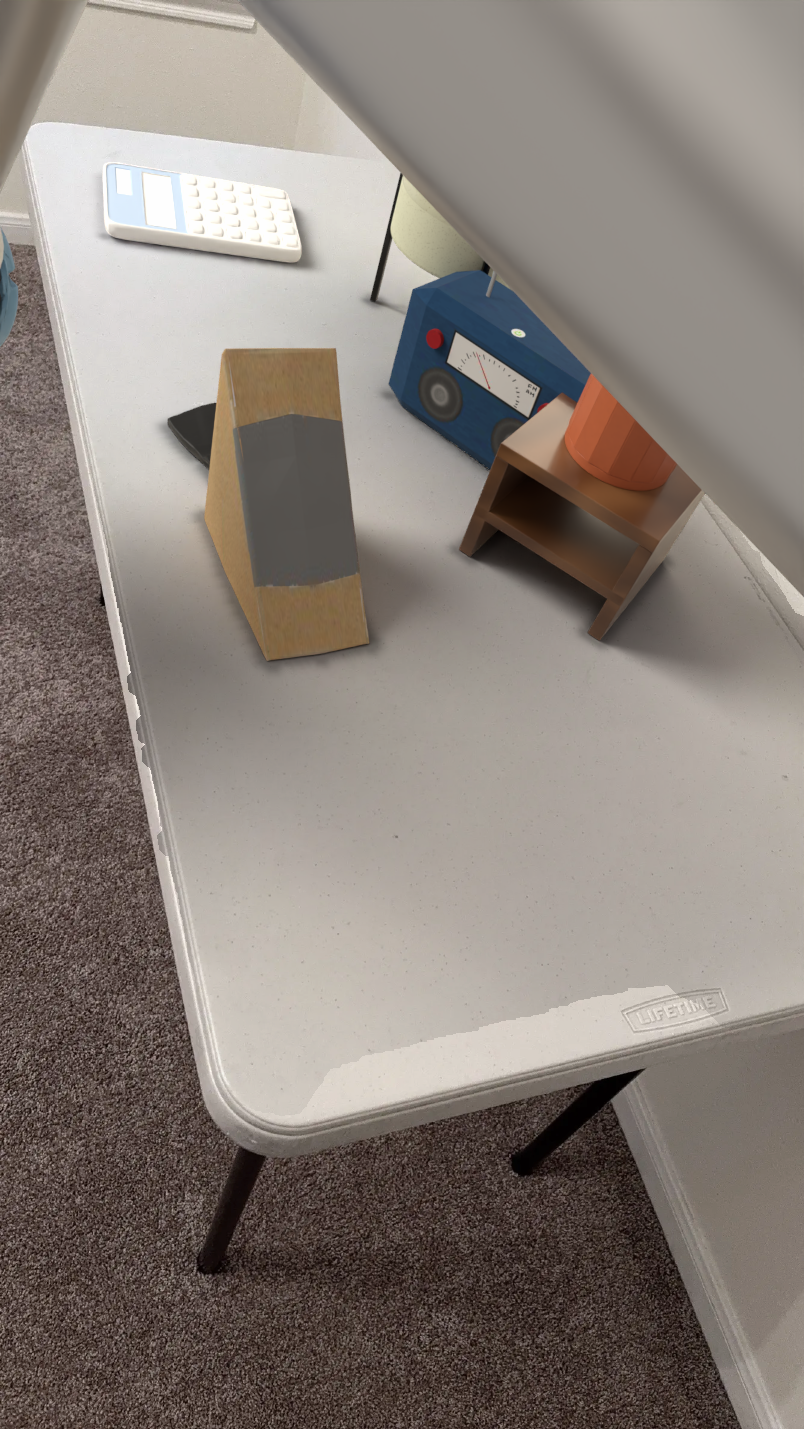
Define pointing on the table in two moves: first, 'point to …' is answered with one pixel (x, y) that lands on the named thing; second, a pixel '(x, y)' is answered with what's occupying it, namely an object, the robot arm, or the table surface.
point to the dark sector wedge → (196, 430)
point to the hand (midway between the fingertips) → (784, 255)
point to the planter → (426, 239)
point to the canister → (614, 443)
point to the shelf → (579, 513)
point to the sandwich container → (285, 500)
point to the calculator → (199, 213)
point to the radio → (478, 362)
